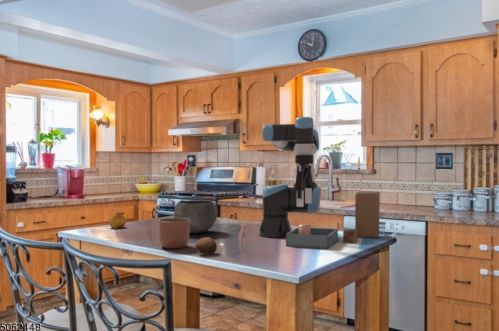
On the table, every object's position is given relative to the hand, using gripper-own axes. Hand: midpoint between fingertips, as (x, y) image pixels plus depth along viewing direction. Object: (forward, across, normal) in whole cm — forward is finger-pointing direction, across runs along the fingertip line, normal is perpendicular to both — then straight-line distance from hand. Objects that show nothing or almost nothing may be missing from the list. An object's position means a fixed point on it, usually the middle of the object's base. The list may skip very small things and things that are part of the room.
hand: (304, 205), depth 186 cm
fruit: (+16, +7, +101) cm, 103 cm away
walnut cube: (+16, +9, -18) cm, 25 cm away
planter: (+16, -27, +46) cm, 56 cm away
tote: (+16, 0, -4) cm, 16 cm away
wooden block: (+16, +26, -23) cm, 38 cm away
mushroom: (+16, -34, +28) cm, 47 cm away
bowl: (+16, +7, +55) cm, 58 cm away
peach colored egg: (+15, 0, 0) cm, 15 cm away
